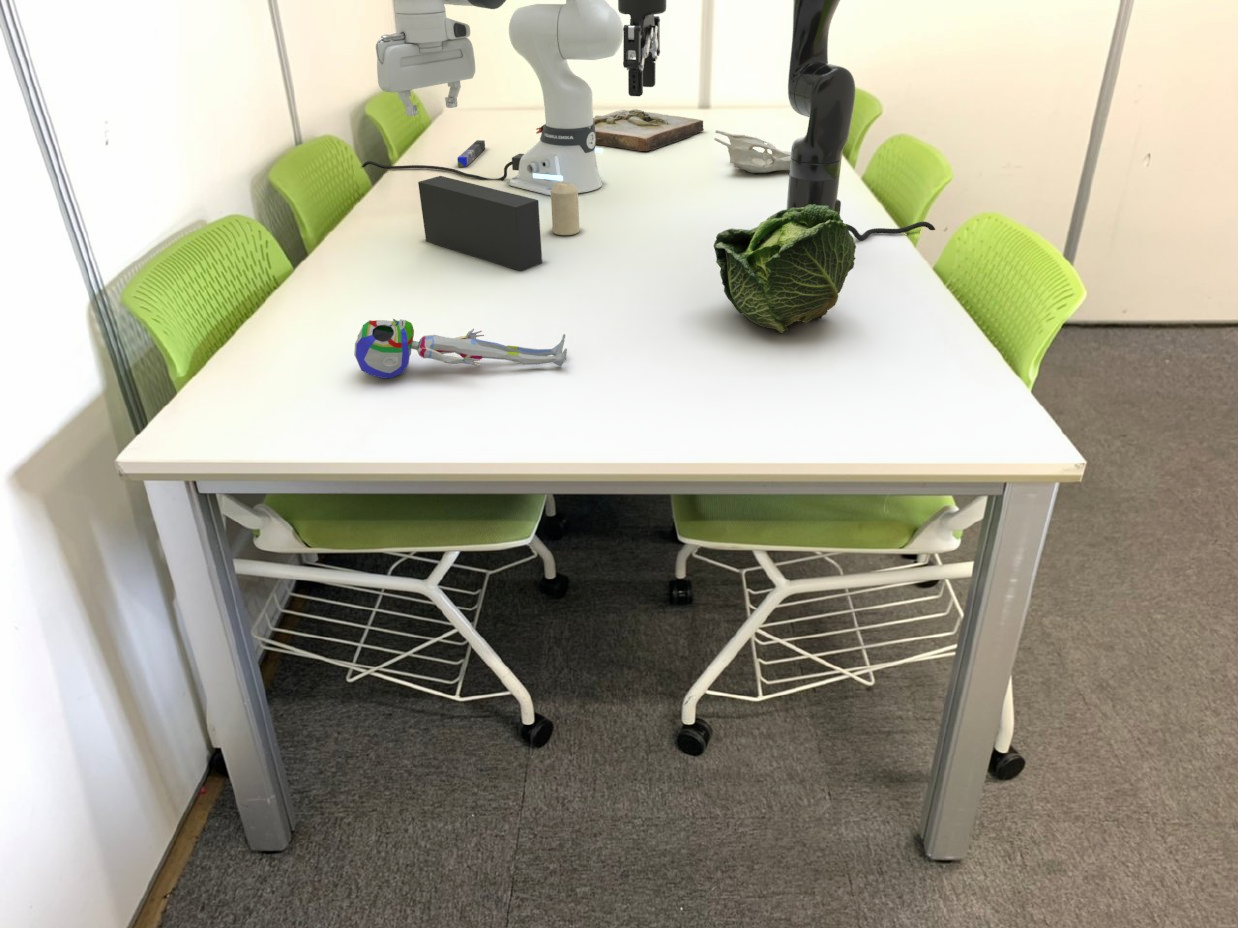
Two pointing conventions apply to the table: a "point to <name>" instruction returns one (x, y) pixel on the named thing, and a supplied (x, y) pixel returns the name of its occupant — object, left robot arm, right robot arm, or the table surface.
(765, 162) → the anatomical model
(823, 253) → the vegetable
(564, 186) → the candle
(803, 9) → the right robot arm
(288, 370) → the table surface
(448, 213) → the box
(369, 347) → the toy
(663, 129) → the plaque
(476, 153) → the pillar
